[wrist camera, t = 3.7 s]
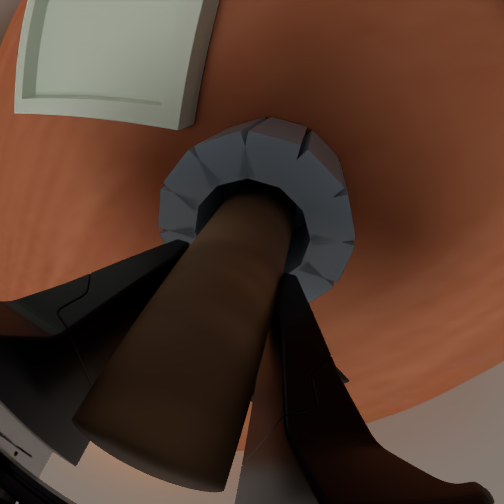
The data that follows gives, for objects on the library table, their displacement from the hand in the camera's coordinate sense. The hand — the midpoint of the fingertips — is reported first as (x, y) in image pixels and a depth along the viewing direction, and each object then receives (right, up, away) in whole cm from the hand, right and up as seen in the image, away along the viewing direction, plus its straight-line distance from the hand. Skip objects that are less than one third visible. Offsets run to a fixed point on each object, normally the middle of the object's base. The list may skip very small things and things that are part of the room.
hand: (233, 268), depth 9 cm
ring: (+1, +3, +5) cm, 7 cm away
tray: (-7, +14, +1) cm, 16 cm away
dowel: (+1, +2, +4) cm, 5 cm away
